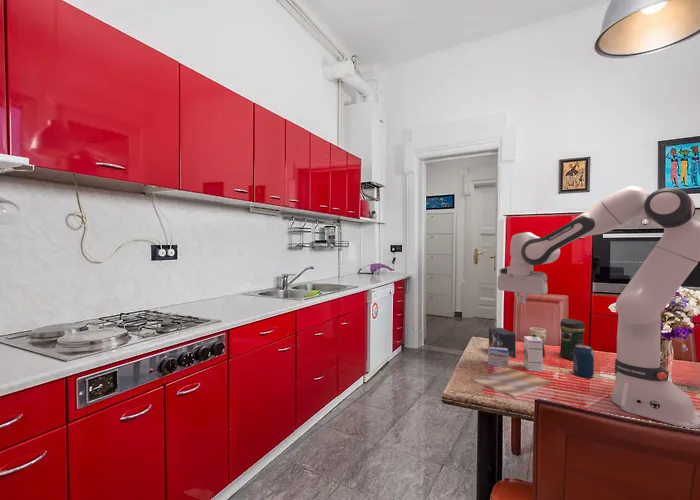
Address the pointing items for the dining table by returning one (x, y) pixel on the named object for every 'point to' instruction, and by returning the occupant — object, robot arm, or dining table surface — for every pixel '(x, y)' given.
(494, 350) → the medicine box
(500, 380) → the grey plank
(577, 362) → the soda can
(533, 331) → the character mug
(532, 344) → the syrup box
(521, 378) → the oak plank
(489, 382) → the birch plank
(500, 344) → the small box
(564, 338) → the coffee jar
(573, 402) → the dining table surface
